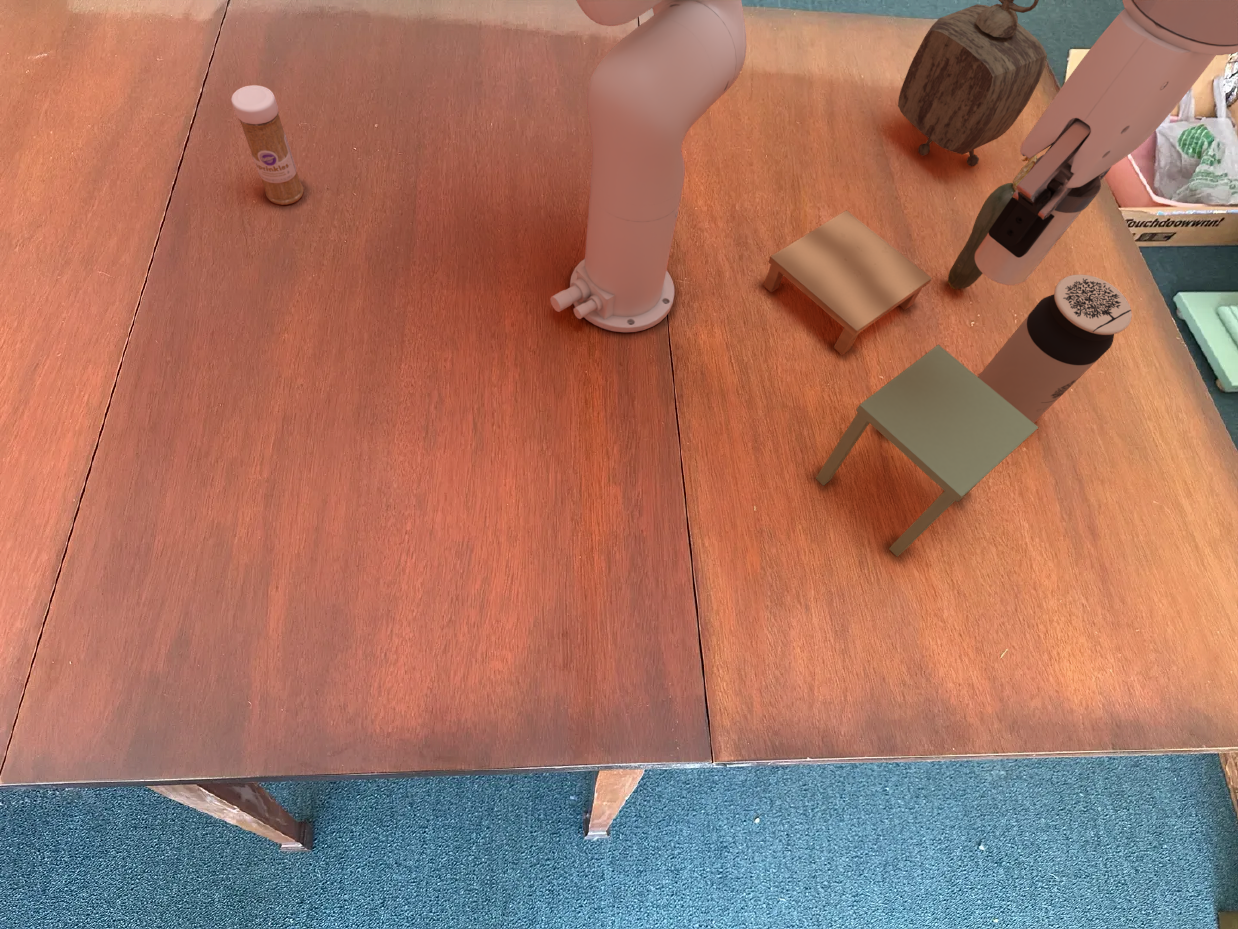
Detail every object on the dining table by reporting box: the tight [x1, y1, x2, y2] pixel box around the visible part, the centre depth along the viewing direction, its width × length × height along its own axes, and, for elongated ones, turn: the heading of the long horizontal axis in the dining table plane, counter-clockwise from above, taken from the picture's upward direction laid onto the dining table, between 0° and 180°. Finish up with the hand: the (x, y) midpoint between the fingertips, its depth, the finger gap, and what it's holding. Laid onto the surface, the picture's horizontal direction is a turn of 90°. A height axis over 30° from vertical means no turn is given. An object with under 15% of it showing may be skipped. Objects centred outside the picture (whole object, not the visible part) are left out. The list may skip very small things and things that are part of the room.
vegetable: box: [947, 154, 1039, 290], centre depth 91 cm, size 4×4×20 cm
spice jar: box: [975, 154, 1102, 286], centre depth 59 cm, size 5×5×9 cm
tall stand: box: [815, 344, 1039, 558], centre depth 78 cm, size 12×12×14 cm
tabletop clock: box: [897, 0, 1048, 167], centre depth 103 cm, size 14×9×25 cm, turn 34°
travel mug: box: [977, 274, 1133, 424], centre depth 83 cm, size 8×8×18 cm
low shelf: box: [763, 209, 933, 356], centre depth 95 cm, size 14×14×5 cm
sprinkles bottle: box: [230, 84, 305, 206], centre depth 91 cm, size 5×5×14 cm
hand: (1027, 228), depth 60 cm, fingers closed on spice jar, 4 cm apart
